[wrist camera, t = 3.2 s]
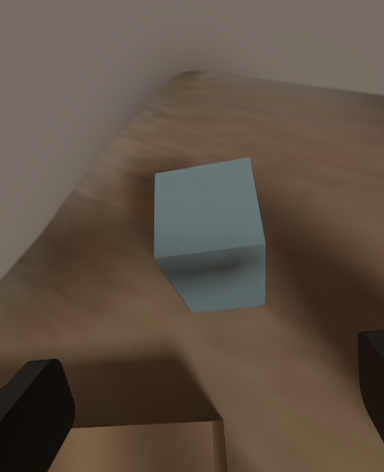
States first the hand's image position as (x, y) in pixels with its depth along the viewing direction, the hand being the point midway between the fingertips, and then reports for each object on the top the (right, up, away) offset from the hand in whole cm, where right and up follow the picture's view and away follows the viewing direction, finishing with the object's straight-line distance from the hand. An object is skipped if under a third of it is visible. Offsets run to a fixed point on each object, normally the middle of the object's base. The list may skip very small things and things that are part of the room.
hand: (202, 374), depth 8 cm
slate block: (+2, +1, +14) cm, 15 cm away
